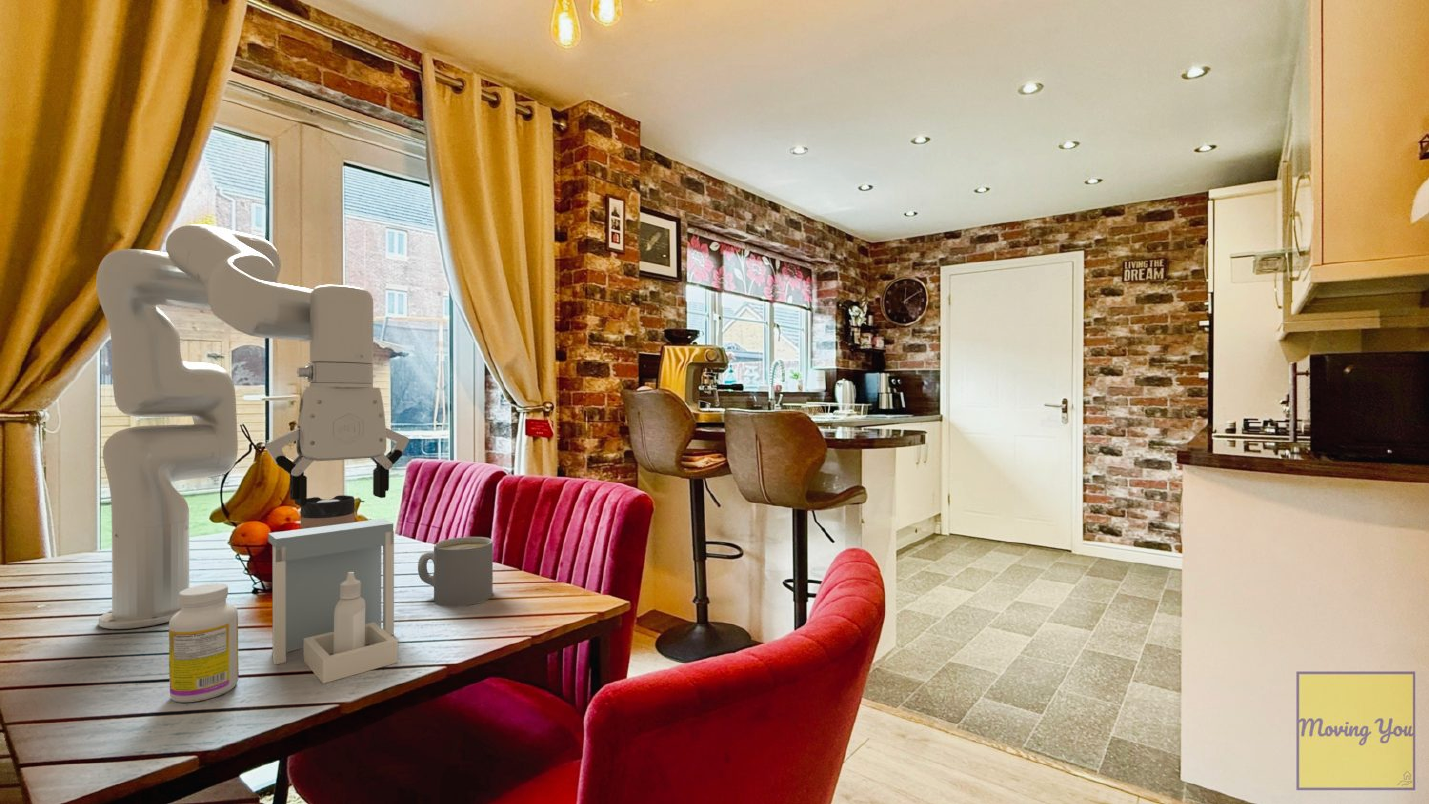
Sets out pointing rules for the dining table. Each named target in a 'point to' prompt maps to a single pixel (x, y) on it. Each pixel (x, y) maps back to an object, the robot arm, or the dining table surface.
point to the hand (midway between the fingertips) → (341, 500)
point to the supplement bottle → (203, 644)
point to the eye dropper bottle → (349, 617)
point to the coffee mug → (460, 571)
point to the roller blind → (328, 578)
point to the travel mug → (327, 511)
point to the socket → (350, 654)
